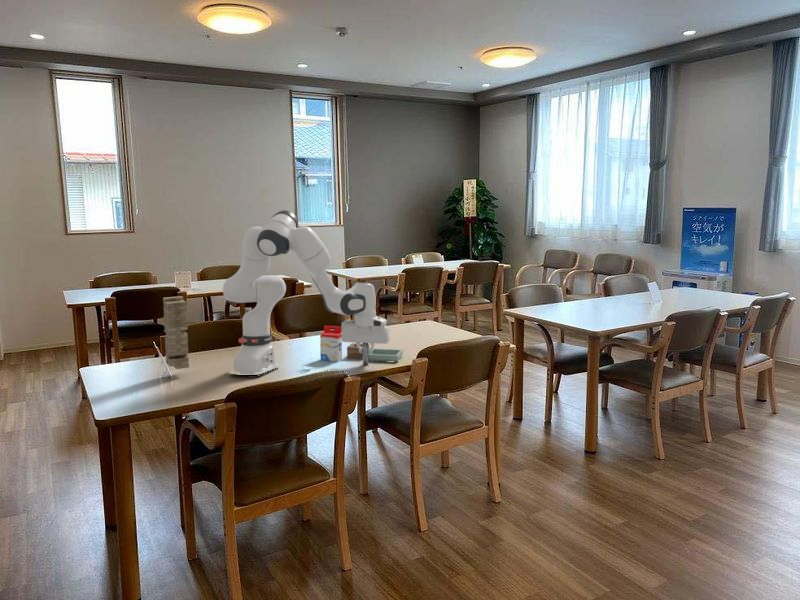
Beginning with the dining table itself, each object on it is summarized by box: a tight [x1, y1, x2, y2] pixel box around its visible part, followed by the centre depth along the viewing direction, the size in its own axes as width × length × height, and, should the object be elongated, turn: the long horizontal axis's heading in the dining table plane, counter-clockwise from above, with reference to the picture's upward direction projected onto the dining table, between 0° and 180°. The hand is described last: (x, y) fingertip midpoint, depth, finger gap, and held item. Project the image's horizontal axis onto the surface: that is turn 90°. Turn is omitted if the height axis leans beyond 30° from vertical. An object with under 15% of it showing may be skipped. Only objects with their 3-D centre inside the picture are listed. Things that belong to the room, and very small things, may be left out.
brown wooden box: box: [346, 342, 370, 360], centre depth 269 cm, size 8×8×5 cm
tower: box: [162, 295, 190, 370], centre depth 250 cm, size 8×8×29 cm
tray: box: [368, 348, 404, 363], centre depth 265 cm, size 12×14×3 cm
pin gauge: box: [362, 343, 370, 366], centre depth 254 cm, size 2×2×10 cm
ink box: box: [319, 325, 343, 362], centre depth 263 cm, size 8×5×15 cm, turn 76°
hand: (365, 353), depth 254 cm, fingers closed on pin gauge, 2 cm apart
